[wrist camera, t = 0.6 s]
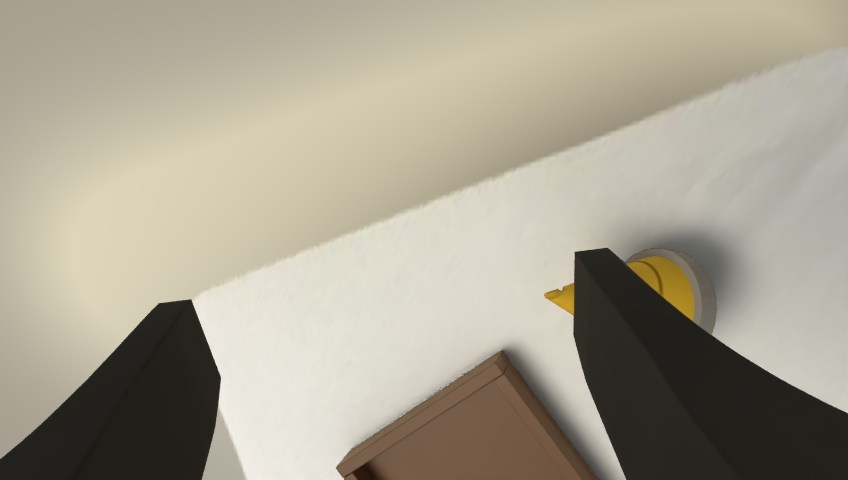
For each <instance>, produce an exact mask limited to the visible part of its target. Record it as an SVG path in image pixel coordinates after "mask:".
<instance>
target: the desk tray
mask: <svg viewBox="0 0 848 480" xmlns="http://www.w3.org/2000/svg"><path fill="white" fill-rule="evenodd" d="M336 469H337V470H338V472H339V473H340V474H341V476H342V477H343V478H344V480H598V479H597V478H596V476H595V475H594V473H593V472H592V471H591V469H590V468H589V467H588V465H587V464H586V463H585V461H584V460H583V459H582V457H581V456H580V455H579V453H578V452H577V451H576V449H575V448H574V447H573V445H572V444H571V443H570V441H569V440H568V438H567V437H566V436H565V434H564V433H563V432H562V430H561V429H560V428H559V426H558V425H557V424H556V422H555V421H554V420H553V418H552V417H551V416H550V414H549V413H548V412H547V410H546V409H545V408H544V406H543V405H542V403H541V402H540V401H539V399H538V398H537V397H536V395H535V394H534V393H533V391H532V390H531V389H530V387H529V386H528V385H527V383H526V382H525V381H524V379H523V378H522V377H521V375H520V374H519V372H518V371H517V370H516V368H515V367H514V366H513V364H512V363H511V362H510V360H509V359H508V358H507V356H506V355H505V354H504V352H503V351H500V352H498V353H497V354H495V355H494V356H492V357H491V358H489V359H488V360H486V361H485V362H483V363H482V364H480V365H479V366H477V367H476V368H474V369H473V370H471V371H470V372H468V373H467V374H465V375H464V376H462V377H460V378H459V379H457V380H456V381H454V382H453V383H451V384H450V385H448V386H447V387H445V388H444V389H442V390H441V391H439V392H438V393H436V394H435V395H433V396H432V397H430V398H429V399H427V400H426V401H424V402H423V403H421V404H420V405H418V406H417V407H415V408H414V409H412V410H411V411H409V412H408V413H406V414H405V415H403V416H402V417H400V418H399V419H397V420H396V421H394V422H393V423H391V424H390V425H388V426H387V427H385V428H384V429H382V430H381V431H379V432H378V433H376V434H375V435H373V436H372V437H370V438H369V439H367V440H366V441H364V442H363V443H361V444H360V445H358V446H357V447H355V448H354V449H352V450H351V451H349V452H348V453H347V455H346V456H345V457H344V458H343V460H342V461H341V462H340V463H339V465H338V466H337V467H336Z"/></svg>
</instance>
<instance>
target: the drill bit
mask: <svg viewBox="0 0 848 480" xmlns="http://www.w3.org/2000/svg"><path fill="white" fill-rule="evenodd" d="M625 264H626V265H627V266H629V267H630V268H631V269H632V270H633V271H634V272H635V273H636V274H637V275H638V276H640V277H641V278H642V279H643V280H644V281H645V282H646V283H647V284H649V285H650V286H651V287H652V288H653V289H654V290H655V291H657V292H658V293H659V294H660V295H661V296H662V297H664V298H665V299H666V300H667V301H668V302H670V303H671V304H672V305H673V306H675V307H676V308H677V309H678V310H679V311H681V312H682V313H683V314H684V315H686V316H687V317H688V318H689V319H691V320H692V321H693V322H694V323H696V324H697V325H698V326H700V327H701V328H702V329H704V330H705V331H707V332H708V333H709V334H712V331H713V328H714V324H715V318H716V297H715V293H714V289H713V285H712V283H711V281H710V278H709V276H708V274H707V273H706V272H705V270H704V269H703V267H702V266H701V265H700V264H699V263H698V262H697V261H696V260H695V259H693V258H691V257H690V256H688V255H686V254H683V253H680V252H677V251H671V250H666V249H654V248H653V249H648V250H643V251H641V252H639V253H637V254H635V255H634V256H632V257H631V258H630V259H628V260H627V261H626V262H625ZM544 296H545V297H546V298H547V299H549V300H550V301H552V302H553V303H555V304H556V305H558V306H560V307H561V308H563V309H564V310H566V311H567V312H569V313H571V314H572V315H574V283H573V284H570V285H567V286H564V287H563V290H562V291H560V290H559V289H556V290H553V291H550V292H547V293H545V294H544Z"/></svg>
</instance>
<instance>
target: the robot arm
mask: <svg viewBox="0 0 848 480" xmlns="http://www.w3.org/2000/svg"><path fill="white" fill-rule="evenodd" d="M573 335H574V338H575V342H576V346H577V350H578V354H579V358H580V361H581V365H582V369H583V372H584V376H585V379H586V382H587V385H588V387H589V390H590V392H591V395H592V397H593V400H594V402H595V405H596V407H597V410H598V412H599V415H600V417H601V419H602V422H603V424H604V427H605V429H606V431H607V434H608V436H609V439H610V441H611V444H612V446H613V448H614V451H615V453H616V456H617V458H618V460H619V463H620V465H621V468H622V470H623V473H624V475H625V477H626V480H848V413H846V412H844V411H842V410H839V409H837V408H835V407H833V406H831V405H829V404H827V403H825V402H823V401H821V400H819V399H817V398H815V397H813V396H811V395H809V394H807V393H806V392H804V391H802V390H800V389H798V388H796V387H794V386H792V385H790V384H788V383H787V382H785V381H783V380H781V379H779V378H778V377H776V376H774V375H772V374H771V373H769V372H767V371H766V370H764V369H762V368H761V367H759V366H758V365H756V364H754V363H753V362H751V361H749V360H748V359H746V358H745V357H743V356H741V355H740V354H738V353H737V352H735V351H734V350H732V349H731V348H729V347H728V346H726V345H725V344H723V343H722V342H720V341H719V340H718V339H716V338H715V337H713V336H712V335H711V334H709V333H708V332H707V331H705V330H704V329H702V328H701V327H700V326H698V325H697V324H696V323H694V322H693V321H692V320H691V319H689V318H688V317H687V316H686V315H684V314H683V313H682V312H681V311H679V310H678V309H677V308H676V307H675V306H673V305H672V304H671V303H670V302H668V301H667V300H666V299H665V298H664V297H662V296H661V295H660V294H659V293H658V292H657V291H655V290H654V289H653V288H652V287H651V286H650V285H649V284H647V283H646V282H645V281H644V280H643V279H642V278H641V277H640V276H638V275H637V274H636V273H635V272H634V271H633V270H632V269H631V268H630V267H629V266H627V265H626V264H625V263H624V262H623V261H622V260H621V259H620V258H619V257H618V256H617V255H615V254H614V253H613V252H612V251H611V250H610V249H608V248H602V249H594V250H586V251H578V252H575V270H574V333H573ZM220 382H221V377H220V374H219V371H218V369H217V366H216V364H215V361H214V358H213V356H212V353H211V350H210V348H209V345H208V343H207V340H206V337H205V335H204V332H203V329H202V327H201V324H200V321H199V319H198V316H197V314H196V311H195V308H194V306H193V303H192V300H191V299H190V300H183V301H175V302H167V303H159V304H158V305H157V306H156V307H155V308H154V309H153V310H152V311H151V312H150V313H149V314H148V315H147V316H146V317H145V318H144V319H143V320H142V321H141V322H140V323H139V325H138V326H137V327H136V328H135V329H134V330H133V331H132V332H131V333H130V334H129V335H128V337H127V338H126V339H125V340H124V341H123V342H122V343H121V344H120V345H119V346H118V347H117V349H116V350H115V351H114V352H113V353H112V354H111V355H110V356H109V357H108V358H107V359H106V360H105V361H104V362H103V363H102V365H101V366H100V367H99V368H98V369H97V370H96V371H95V372H94V373H93V374H92V375H91V376H90V377H89V378H88V379H87V380H86V381H85V382H84V383H83V384H82V385H81V386H80V387H79V388H78V389H77V390H76V391H75V392H74V393H73V394H72V395H71V396H70V397H69V398H68V399H67V400H66V401H65V402H64V403H63V404H62V405H61V406H60V407H59V408H58V409H57V410H55V411H54V413H52V414H51V415H50V417H48V418H47V419H46V420H45V421H44V422H43V423H42V424H41V425H40V426H39V427H38V428H37V429H35V430H34V431H33V432H32V433H31V434H30V435H28V436H27V437H26V438H25V439H24V440H23V441H22V442H21V443H19V444H18V445H17V446H16V447H15V448H13V449H12V450H11V451H10V452H9V453H7V454H6V455H5V456H4V457H2V458H1V459H0V480H202V476H203V472H204V468H205V465H206V461H207V457H208V453H209V449H210V445H211V441H212V438H213V433H214V429H215V424H216V417H217V409H218V401H219V392H220Z"/></svg>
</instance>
